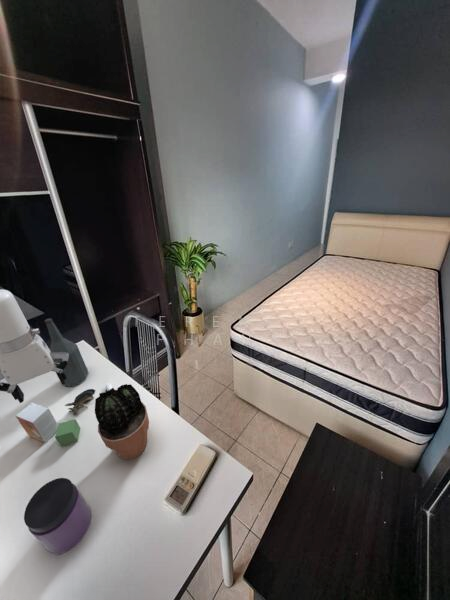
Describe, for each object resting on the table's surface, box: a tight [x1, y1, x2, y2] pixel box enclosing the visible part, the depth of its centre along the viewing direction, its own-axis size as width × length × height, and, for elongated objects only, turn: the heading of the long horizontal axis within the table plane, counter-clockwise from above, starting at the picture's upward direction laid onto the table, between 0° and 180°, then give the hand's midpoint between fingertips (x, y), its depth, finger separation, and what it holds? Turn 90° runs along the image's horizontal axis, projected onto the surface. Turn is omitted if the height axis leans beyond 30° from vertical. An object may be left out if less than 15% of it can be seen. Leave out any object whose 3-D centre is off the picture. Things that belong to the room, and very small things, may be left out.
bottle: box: [44, 317, 89, 388], centre depth 98 cm, size 10×10×30 cm
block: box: [54, 418, 81, 447], centre depth 80 cm, size 5×5×5 cm
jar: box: [27, 482, 92, 555], centre depth 58 cm, size 10×10×12 cm
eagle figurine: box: [64, 388, 96, 416], centre depth 91 cm, size 8×7×9 cm
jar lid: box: [23, 477, 77, 533], centre depth 55 cm, size 10×9×2 cm
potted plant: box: [94, 383, 150, 460], centre depth 72 cm, size 14×14×25 cm
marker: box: [105, 382, 114, 391], centre depth 94 cm, size 18×2×2 cm, turn 39°
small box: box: [15, 402, 59, 444], centre depth 81 cm, size 8×6×10 cm
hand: (43, 390), depth 67 cm, fingers open, 9 cm apart
